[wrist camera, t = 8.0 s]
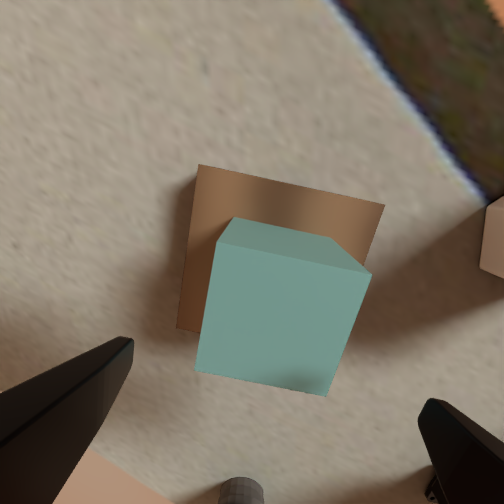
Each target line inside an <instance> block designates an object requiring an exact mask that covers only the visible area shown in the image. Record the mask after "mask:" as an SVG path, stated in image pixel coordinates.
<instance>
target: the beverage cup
mask: <svg viewBox="0 0 504 504" xmlns="http://www.w3.org/2000/svg"><path fill="white" fill-rule="evenodd" d="M218 504H264V499H263V489H262V487H261V486H260V485H259V484H258V483H257V482H256V481H254V480H252V479H248V478H242V477H237V478H232V479H230V480H228V481H226V482H225V483H224V484H223V485H222V488H221V492H220V497H219V501H218Z"/></svg>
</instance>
